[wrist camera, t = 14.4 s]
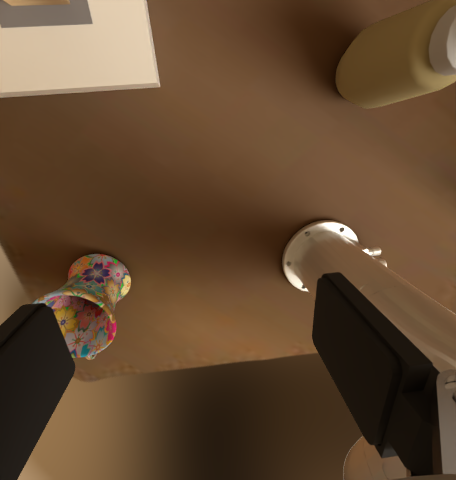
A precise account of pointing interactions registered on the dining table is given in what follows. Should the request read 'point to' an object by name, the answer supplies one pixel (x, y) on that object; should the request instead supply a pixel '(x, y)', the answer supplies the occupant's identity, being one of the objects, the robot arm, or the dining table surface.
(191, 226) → the dining table surface
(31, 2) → the maple block
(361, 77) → the squeeze bottle
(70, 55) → the base board
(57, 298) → the mug
